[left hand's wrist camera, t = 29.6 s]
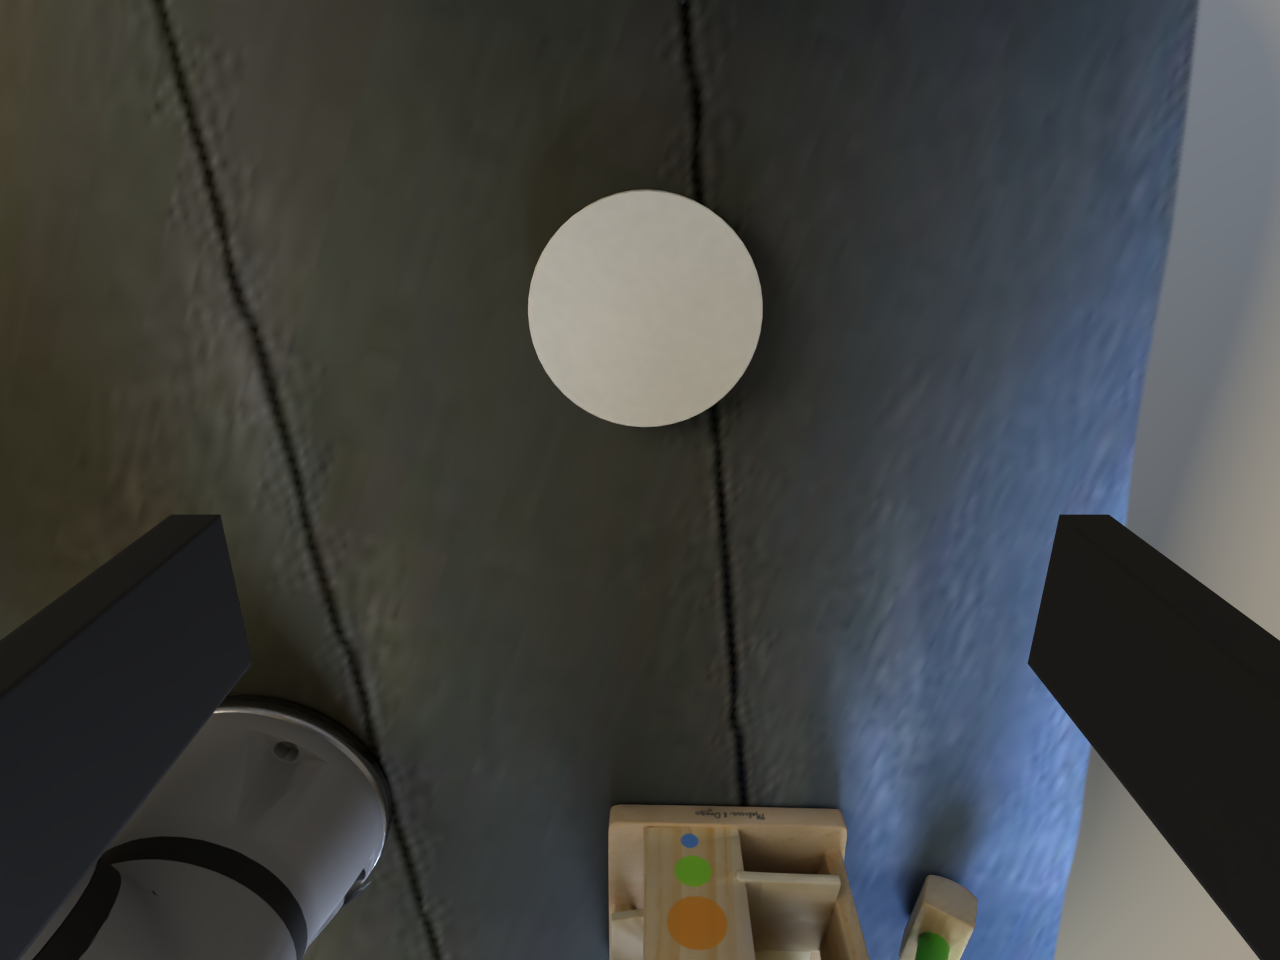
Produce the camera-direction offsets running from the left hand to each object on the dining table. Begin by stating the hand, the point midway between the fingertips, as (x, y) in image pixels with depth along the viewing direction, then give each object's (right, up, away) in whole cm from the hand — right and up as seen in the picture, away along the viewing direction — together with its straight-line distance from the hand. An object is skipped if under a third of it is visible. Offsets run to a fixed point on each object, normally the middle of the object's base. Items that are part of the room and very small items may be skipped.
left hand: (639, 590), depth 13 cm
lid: (0, +9, +23) cm, 25 cm away
